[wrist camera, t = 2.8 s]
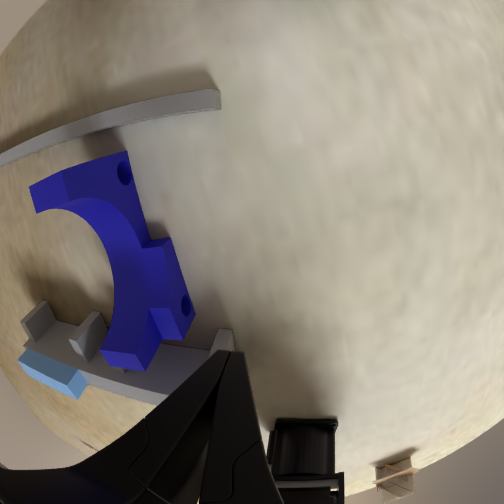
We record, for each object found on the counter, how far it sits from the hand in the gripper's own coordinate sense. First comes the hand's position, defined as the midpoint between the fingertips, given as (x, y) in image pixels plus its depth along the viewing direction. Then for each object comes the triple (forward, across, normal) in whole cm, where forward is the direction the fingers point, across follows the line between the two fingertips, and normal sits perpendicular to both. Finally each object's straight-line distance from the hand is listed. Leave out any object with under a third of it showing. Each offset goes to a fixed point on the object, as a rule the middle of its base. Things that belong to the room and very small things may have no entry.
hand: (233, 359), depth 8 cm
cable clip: (+9, +8, 0) cm, 12 cm away
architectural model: (+10, -20, +37) cm, 43 cm away
